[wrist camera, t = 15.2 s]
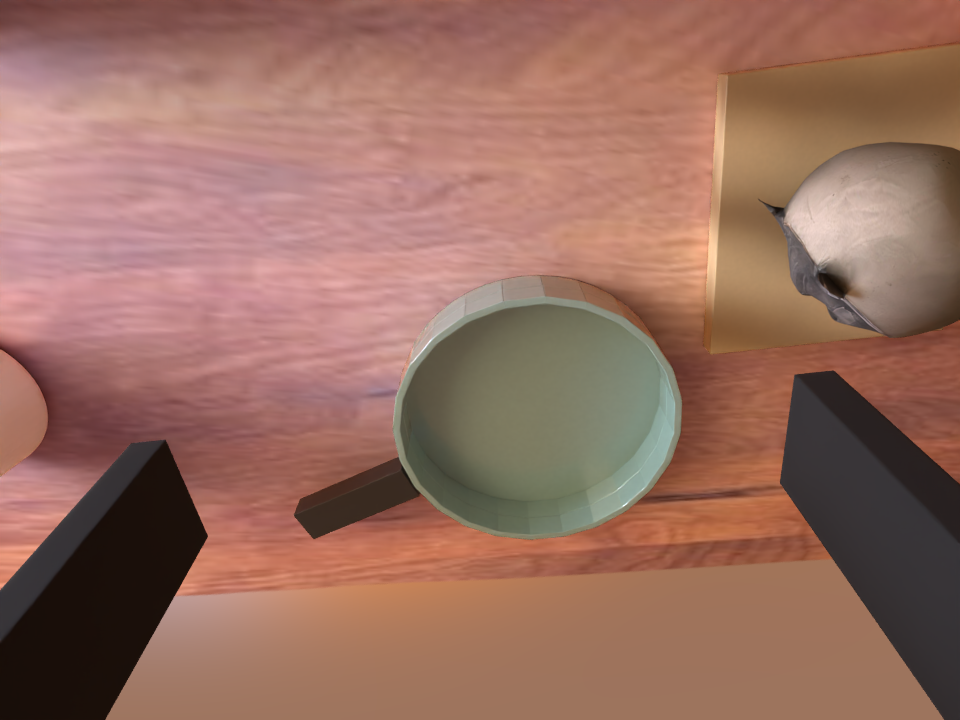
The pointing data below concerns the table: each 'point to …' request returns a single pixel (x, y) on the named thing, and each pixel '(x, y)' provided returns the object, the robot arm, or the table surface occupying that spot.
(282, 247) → the table surface
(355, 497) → the pan handle
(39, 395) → the coffeepot
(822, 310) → the cutting board
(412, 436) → the pan
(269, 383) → the table surface
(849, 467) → the robot arm
